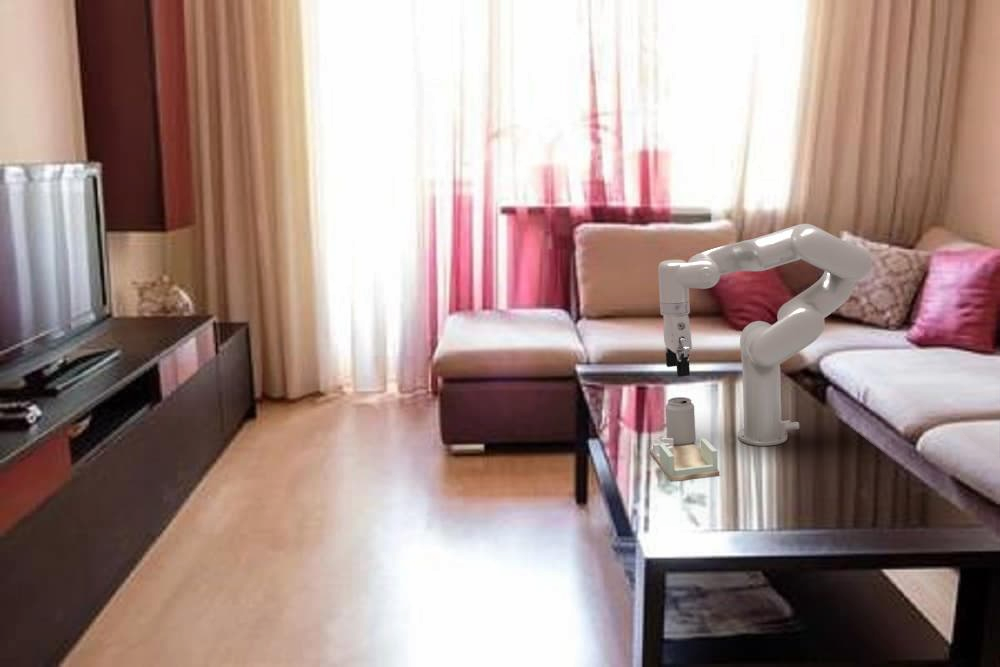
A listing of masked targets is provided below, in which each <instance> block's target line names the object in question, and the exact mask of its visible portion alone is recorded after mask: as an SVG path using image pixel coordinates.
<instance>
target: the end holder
mask: <svg viewBox="0 0 1000 667" xmlns="http://www.w3.org/2000/svg"><path fill="white" fill-rule="evenodd" d="M699 440H700V451H701V458H702V459H703V460H704V461H705V462H706V464H707V465H704V466H696V467H688V468H680V469H675V468H674V456H673V454H672V453H671V452H670V451H669V449H668V448H667V447H666V446H665V445H664V443H663V444H659V456H660V464H661V465H662V466H663V467H664V469H665V470H666V471H667V473H668V474H669V475H670V476H684V475H692V474H700V473H708V472H714V471H715V470H718V471H719V468H718V450H717V448H715V447H714V445H712V444H711V443H710V442H709V441H708V440H707V439H706V438H700V439H699Z"/></svg>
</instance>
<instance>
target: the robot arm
mask: <svg viewBox="0 0 1000 667" xmlns="http://www.w3.org/2000/svg"><path fill="white" fill-rule="evenodd" d="M800 260H803V261H804V262H806V263H808V264H809V265H813V266H814V267H816V268H818V269H820V270H823V271H824V272H823V274H822V276H821V277H820V278H819V279H818V280H817V281H815V282H814V284H812V285H811V286H810V287H808V288H807V289H805V290H803V291H802V292H800V293H799V294H797V295H796V296H794V297H792V298H791V299H790V300H788V301H786V302H785V303H784V304H782V306H781V307H780V308H779V309H778V311H777V317H776V318H777V321H776V322H775V323H773V324H770V323H768V322H766V321H762V320H757V321H752V322H750V323H749V324H747V325H746V326H745V327H744V328H743V330H742V331H741V334H740V339H739V347H740V349H739V350H740V357H741V365H742V366H741V367H742V368H741V369H742V405H743V407H742V408H743V429H741V430H740V431H738V434H737V438H738V439H739V441H740V442H742V443H745V444H747V445H751V446H758V447H759V446H763V447H764V446H765V447H766V446H767V447H769V446H776V445H780V444H782V443H785V442H786V441H787V440H788V432H789V430H799V429H800V422H798V421H793V422H792V421H791V420H788V419H787V420H782V408H781V407H782V404H781V396H782V395H781V394H782V393H781V364H782V363H784V362H785V361H787V360H789V359H790V358H792V357H793V356H795V355H796V354H798V353H800V352H801V351H802V350H804V349H805V348H807V347H809V346H810V345H812V344H813V343H815V342H816V340H818V339H819V337H820V336H821V335H822V334H823V331H824V328H825V318H827V317H828V316H830V315H831V314H832V313H833V312H835V311H836V310H837V309H838V308H840V307H841V306H842V305H844V304H845V302H846V301H847V300H848V299H849V298H850V297H851V295H852V293H853V291H854V289H855V286H856V283H857V282H858V281H861V280H863V279H864V278H866V277H868V275H869V274H870V273H871V270H872V267H873V259H872V256H871V255H870V253H869V252H868V251H867V250H866V249H864V248H862V247H860V246H858V245H856V244H854V243H852V242H848V241H846V240H844V239H842V238H839V237H837V236H835V235H834V234H831V233H829V232H827V231H825V230H823V229H822V228H820V227H817V226H815V225H813V224H810V223H800V224H797V225H794V226H790V227H787V228H784V229H780V230H778V231H774V232H771V233H768V234H764V235H761V236H759V237H758V236H757V237H755V238H752V239H747V240H742V241H739V242H735V243H730V244H725V245H722V246H718V247H715V248H712V249H709V250H705V251H702V252H699V253H696V254H695V255H693V256H691V257H690V258H689V259H688V261H686V260H683V259H667V260H666V259H665V260H663V261H661V262H660V263H659V264H658V267H657V268H658V271H657V272H658V289H659V290H658V291H659V292H658V293H659V307H660V308H659V309H660V310H659V311H660V315H661V316H663V318H662V319H663V341H664V346H665V363H666V367H667V368H671V367H676V376H677V377H678V378H679V377H681V378H682V377H689V376H690V374H691V373H690V354H689V352H692V350H693V345H692V343H693V342H692V333H691V324H690V317H689V314H690V313H691V309H690V289H701V290H704V289H710V288H713V287H714V286H716V284H718V283H719V281H720V279H721V276H723V275H726V274H727V275H728V274H731V273H734V272H743V271H744V272H762V271H766V270H770V269H773V268H776V267H779V266H783V265H785V264H789V263H792V262H795V261H796V262H797V261H800Z"/></svg>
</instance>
